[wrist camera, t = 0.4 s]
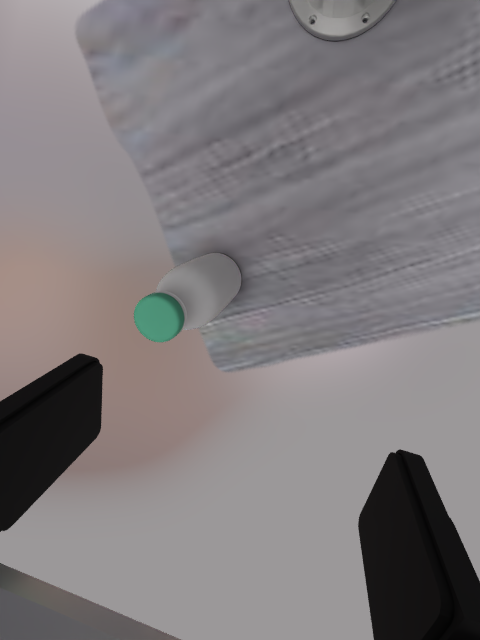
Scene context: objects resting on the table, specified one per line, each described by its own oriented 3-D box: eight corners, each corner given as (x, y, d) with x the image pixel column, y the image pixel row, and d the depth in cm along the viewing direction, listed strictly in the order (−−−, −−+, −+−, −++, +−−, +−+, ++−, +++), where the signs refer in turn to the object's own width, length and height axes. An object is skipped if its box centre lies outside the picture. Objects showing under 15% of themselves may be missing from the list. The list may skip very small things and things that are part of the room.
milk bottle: (220, 241, 45) (155, 261, 26) (252, 283, 46) (211, 331, 27) (183, 272, 48) (101, 310, 29) (214, 312, 49) (154, 372, 30)
